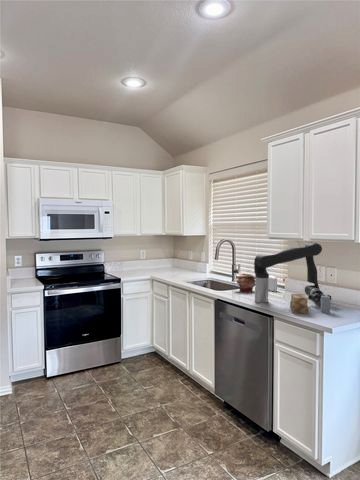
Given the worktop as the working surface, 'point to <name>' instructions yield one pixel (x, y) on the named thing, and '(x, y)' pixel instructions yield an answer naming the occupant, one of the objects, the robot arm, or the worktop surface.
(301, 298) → the block upper
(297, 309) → the block lower
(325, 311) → the tall block
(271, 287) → the photo printer
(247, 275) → the decorative planter
